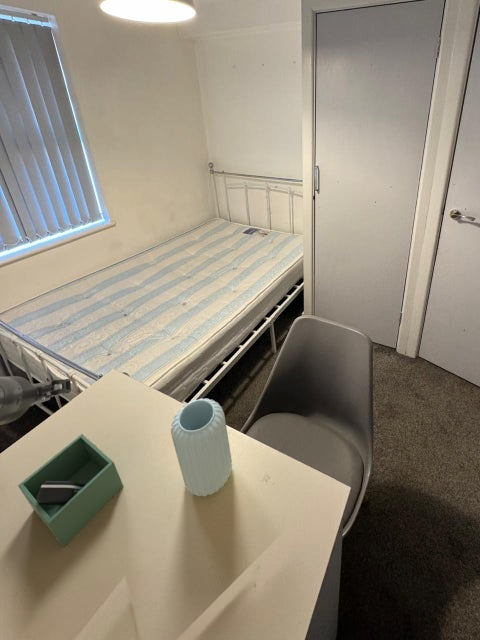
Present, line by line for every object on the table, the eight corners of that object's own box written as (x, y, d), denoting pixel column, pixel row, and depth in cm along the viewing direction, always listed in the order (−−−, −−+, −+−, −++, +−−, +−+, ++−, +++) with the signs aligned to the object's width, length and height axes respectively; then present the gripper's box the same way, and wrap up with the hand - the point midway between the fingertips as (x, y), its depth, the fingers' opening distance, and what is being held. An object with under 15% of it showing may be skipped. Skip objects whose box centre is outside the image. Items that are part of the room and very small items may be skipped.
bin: (33, 509, 73) (17, 485, 69) (92, 457, 84) (82, 433, 80) (63, 547, 67) (48, 523, 63) (123, 486, 77) (113, 462, 73)
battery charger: (58, 506, 73) (29, 504, 65) (66, 485, 76) (39, 480, 67) (89, 506, 73) (64, 504, 65) (96, 486, 76) (73, 481, 68)
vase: (178, 472, 80) (161, 412, 71) (219, 442, 87) (209, 384, 77) (197, 514, 72) (180, 452, 63) (241, 478, 79) (232, 417, 69)
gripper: (45, 364, 55) (78, 366, 70) (-63, 391, 50) (-4, 386, 65) (46, 411, 53) (80, 402, 68) (-67, 444, 48) (-4, 427, 63)
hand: (39, 394), depth 66 cm, fingers open, 8 cm apart
